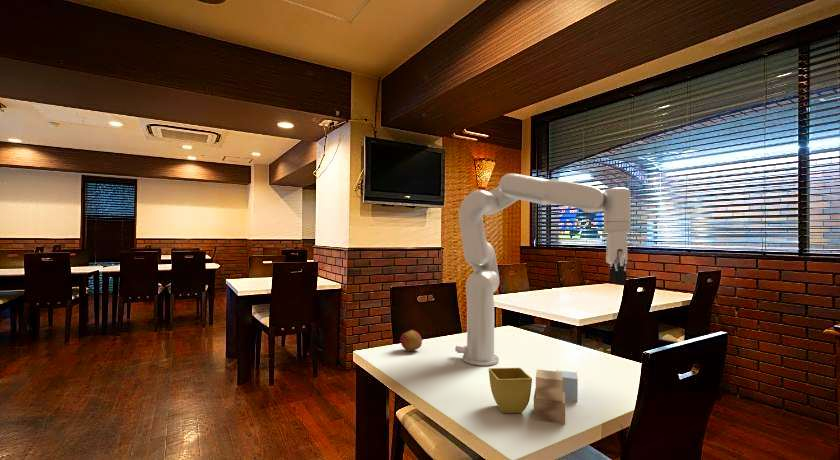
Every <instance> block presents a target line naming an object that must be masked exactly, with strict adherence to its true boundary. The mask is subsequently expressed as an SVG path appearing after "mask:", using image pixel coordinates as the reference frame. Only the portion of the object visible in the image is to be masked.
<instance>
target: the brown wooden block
mask: <svg viewBox="0 0 840 460" xmlns="http://www.w3.org/2000/svg"><path fill="white" fill-rule="evenodd" d="M533 420H534V421H541V422H546V423H553V424H554V423H555V424H560V425H566V400H565V392H563V402H558V401H551V400H544V399H536V387H535V388H534V395H533Z"/></svg>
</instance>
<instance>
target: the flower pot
mask: <svg viewBox="0 0 840 460" xmlns="http://www.w3.org/2000/svg"><path fill="white" fill-rule="evenodd" d="M488 376H489V384H490V385H489V386H490V390H491V393H492V396H493V400H494V402H495V403H496V405H497V407H498V408H499V410H500V411H501V412H502V414H511V413H512V414H513V413H517V414H519V413H520V414H521V413H523V412H524V411H525V409H526V408H527V406H528V405H529V403H530V399H531V393H532V383H533V377H532V376H530V375H529V374H528V373H526V371H524V369H523V368H521V367H492V368H488Z"/></svg>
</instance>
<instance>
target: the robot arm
mask: <svg viewBox="0 0 840 460" xmlns="http://www.w3.org/2000/svg"><path fill="white" fill-rule="evenodd" d="M519 200H520V201H524V202H530V203H534V204H539V205H543V206H544V205H545V206H548V205H549V206H550V205H559V206H564V207H565V206H566V207H570V208H575V209H580V210H581V211H583V212H585V213H589V214H590V213H591V214H594V213H599V212H603V233H606V247H605V248H606V252H605V263H607V264H609V281H610V282H613V283H614V284H615V285H619V286H621V285H622V286H625V285H627V268H626V264H628V233H632V227H631V226H632V219H631V218H632V217H631V216H632V215H631V213H632V212H631V211H632V210H631V209H632V208H631V206H632V205H631V204H632V203H631V200H632V199H631V191H630V189H629V188H626V187H612V188H606V189H605V190H601V189H600V188H598V187H596V186H593V185H589V184H582V183H577V182H572V181H562V180H556V179H549V178H548V179H547V178H542V177H536V176H530V175H525V174H521V173H520V174H519V173H513V172H512V173H511V172H510V173H506V174H504V175H503V176H501V178H500V179H499V182H498V186H497V187H495V188H493V189H491V190H490V191H487V190H484V189H477V190H474V191H472V192H470V193H469V194H468V195H467V196H465V198H463V200H462V201H461V203H460V206H459V210H458V221H459V227H460V228H459V229H460V233H461V234H460V236H461V243H462V250H463V257H464V260H465V262H466V264H468V265H469V266H471V267H472V273H470V275H469V276H468V277H467V279H466V281H465V295H466V345H465V346H459V345H455V350H454V351H455V352H456V353H458V354H463V355H462V361H463V362H465V363H466V364H468V365H469V364H470V365H473V366H481V367H482V366H483V367H485V366H486V367H487V366H493V365H496V364H498V363H499V357H498V356H497V355H495V301H494V300H495V299H494V293H495V292H497V290H498V288H499V287H500V275H499V269H498V268H499V267H498V261H497V256H496V251H495V249H494V247H493V245H492V244H491V243H490V242H488V241H487V236H486V230H485V224H484V221H483V216H492V215H495V214H497V213H499V212H501V211H503V210H504V209H506V208H509V206H511V205H513V204H514V203H516V202H518V201H519Z"/></svg>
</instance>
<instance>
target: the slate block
mask: <svg viewBox="0 0 840 460" xmlns="http://www.w3.org/2000/svg"><path fill="white" fill-rule="evenodd" d="M555 371H556V372H562V379H563V392H565V401H569V402H578V400H579V399H578V398H579V397H578V393H579V392H578V382H579V381H578V372H575V371H565V370H559V369H556V370H555Z"/></svg>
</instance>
